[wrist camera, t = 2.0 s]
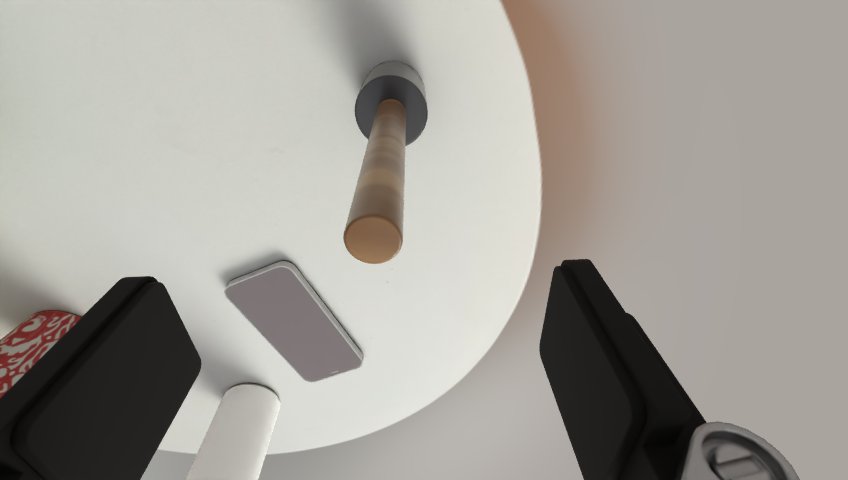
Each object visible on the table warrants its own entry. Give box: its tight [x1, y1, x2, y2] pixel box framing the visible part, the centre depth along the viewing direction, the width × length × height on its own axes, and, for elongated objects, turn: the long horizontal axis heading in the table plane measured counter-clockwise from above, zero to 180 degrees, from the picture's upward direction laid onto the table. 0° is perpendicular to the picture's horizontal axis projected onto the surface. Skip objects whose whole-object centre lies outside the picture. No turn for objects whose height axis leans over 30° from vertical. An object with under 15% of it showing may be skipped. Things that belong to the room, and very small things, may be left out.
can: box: [186, 383, 280, 480], centre depth 41 cm, size 6×6×12 cm
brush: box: [344, 61, 428, 264], centre depth 20 cm, size 4×4×19 cm
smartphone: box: [224, 261, 363, 382], centre depth 39 cm, size 7×1×15 cm
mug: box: [0, 311, 81, 398], centre depth 35 cm, size 13×9×14 cm
